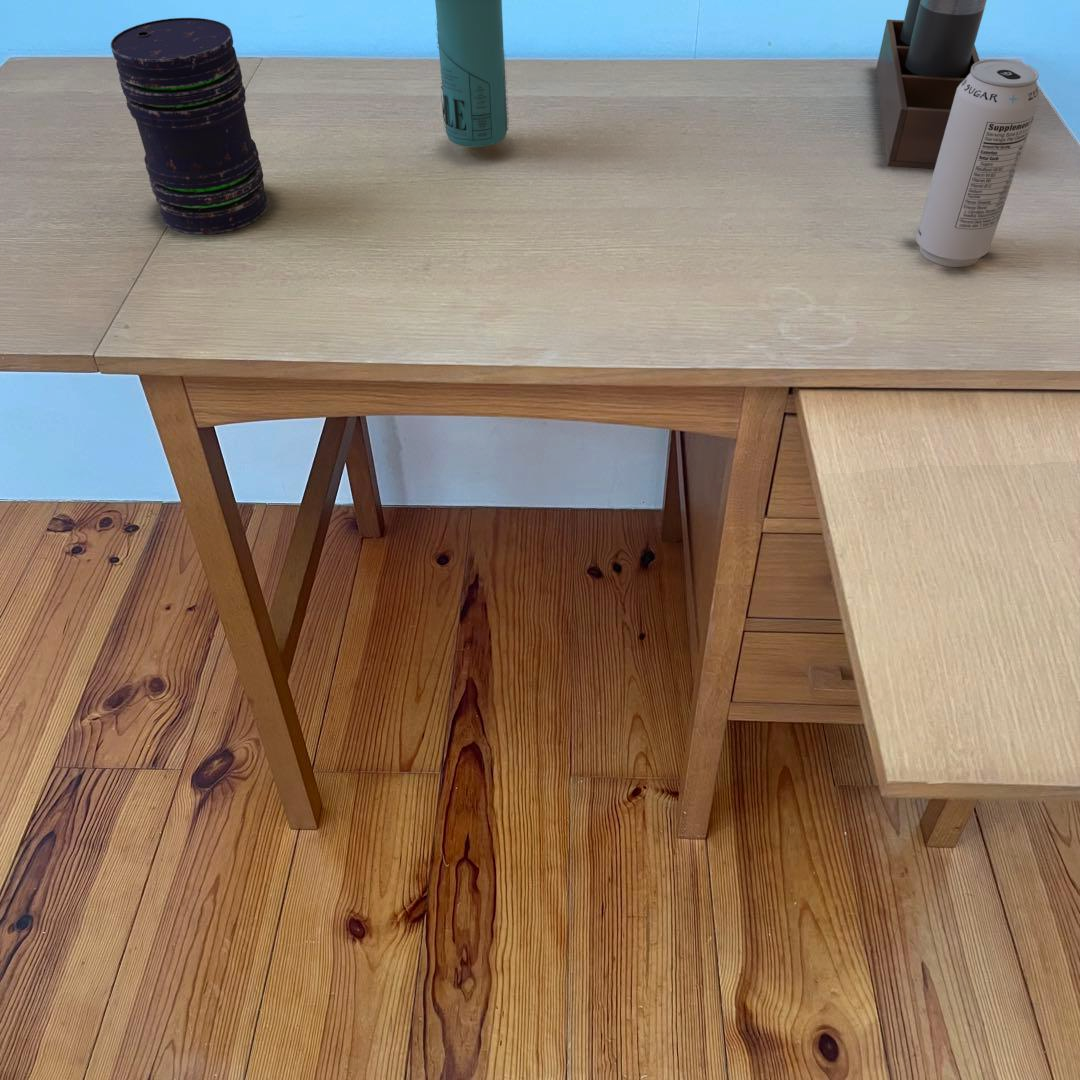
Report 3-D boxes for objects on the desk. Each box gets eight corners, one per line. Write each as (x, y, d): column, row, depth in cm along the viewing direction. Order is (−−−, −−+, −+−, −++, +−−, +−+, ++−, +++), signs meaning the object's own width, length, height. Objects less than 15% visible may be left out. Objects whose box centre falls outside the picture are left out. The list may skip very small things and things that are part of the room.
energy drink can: (957, 229, 89) (1011, 51, 78) (1001, 262, 85) (1065, 79, 74) (898, 242, 87) (946, 62, 77) (940, 276, 83) (997, 91, 73)
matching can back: (958, 83, 111) (1000, -71, 100) (925, 98, 108) (966, -59, 97) (911, 68, 114) (948, -83, 103) (879, 82, 111) (913, -72, 101)
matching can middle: (965, 113, 105) (1012, -48, 94) (931, 129, 102) (975, -34, 92) (917, 96, 108) (956, -61, 98) (882, 111, 106) (919, -49, 95)
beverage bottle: (520, 141, 103) (514, -83, 88) (491, 168, 98) (480, -63, 84) (464, 130, 105) (449, -90, 90) (432, 156, 100) (412, -71, 86)
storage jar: (289, 194, 95) (256, 25, 84) (230, 243, 89) (185, 67, 78) (201, 177, 98) (158, 11, 87) (137, 223, 91) (82, 50, 81)
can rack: (953, 75, 114) (967, 23, 110) (979, 172, 97) (997, 114, 93) (875, 70, 115) (886, 19, 111) (887, 165, 98) (901, 108, 94)
